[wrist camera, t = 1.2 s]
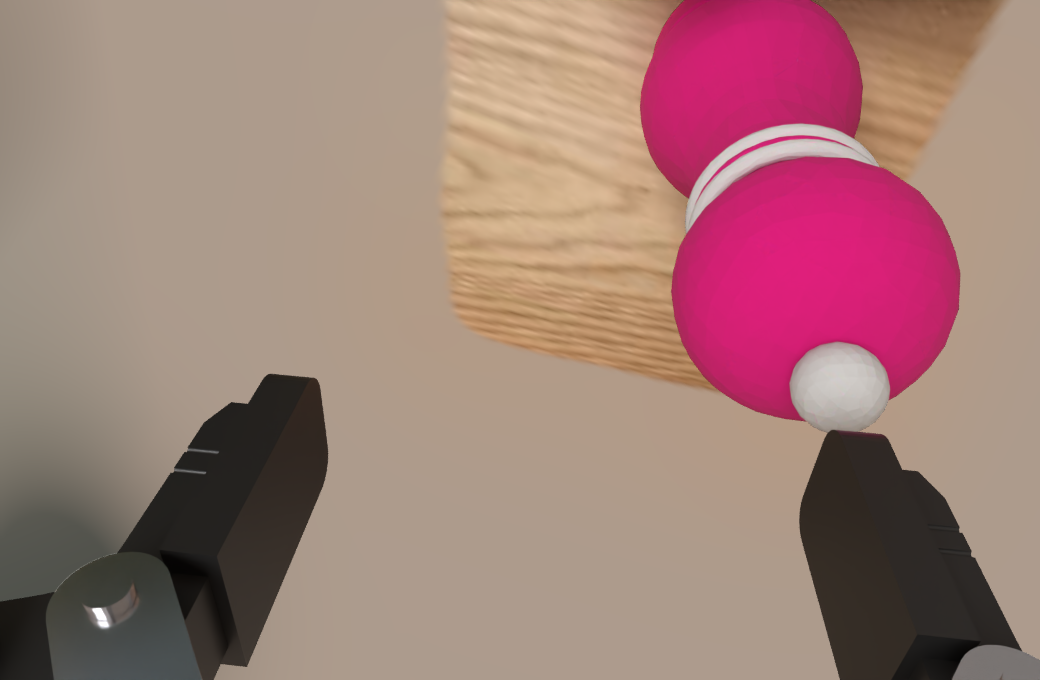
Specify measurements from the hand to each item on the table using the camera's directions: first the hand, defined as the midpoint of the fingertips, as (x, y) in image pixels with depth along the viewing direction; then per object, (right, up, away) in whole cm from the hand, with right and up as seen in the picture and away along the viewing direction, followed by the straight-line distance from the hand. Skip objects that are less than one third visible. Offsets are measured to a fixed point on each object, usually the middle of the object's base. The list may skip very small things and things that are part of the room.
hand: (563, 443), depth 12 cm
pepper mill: (+8, +13, +18) cm, 23 cm away
